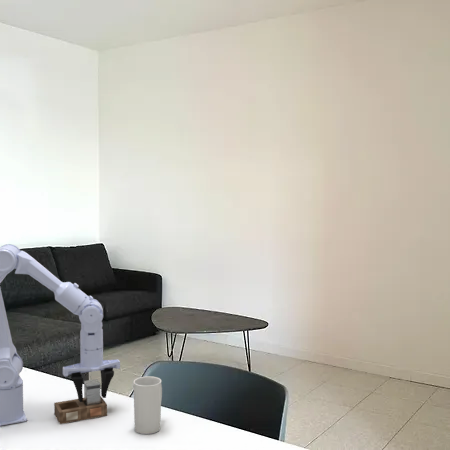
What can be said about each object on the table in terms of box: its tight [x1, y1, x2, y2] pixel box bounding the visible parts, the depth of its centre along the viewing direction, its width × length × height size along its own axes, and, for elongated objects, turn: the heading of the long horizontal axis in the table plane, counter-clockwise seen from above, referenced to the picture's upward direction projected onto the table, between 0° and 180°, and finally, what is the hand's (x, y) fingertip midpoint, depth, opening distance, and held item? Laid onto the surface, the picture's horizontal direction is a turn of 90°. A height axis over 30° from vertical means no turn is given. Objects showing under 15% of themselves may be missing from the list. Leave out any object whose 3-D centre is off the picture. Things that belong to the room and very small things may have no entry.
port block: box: [53, 395, 108, 425], centre depth 146 cm, size 12×7×3 cm, turn 117°
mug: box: [133, 376, 163, 435], centre depth 140 cm, size 10×7×12 cm, turn 156°
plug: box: [83, 378, 101, 406], centre depth 147 cm, size 3×3×8 cm
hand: (92, 398), depth 148 cm, fingers open, 5 cm apart
